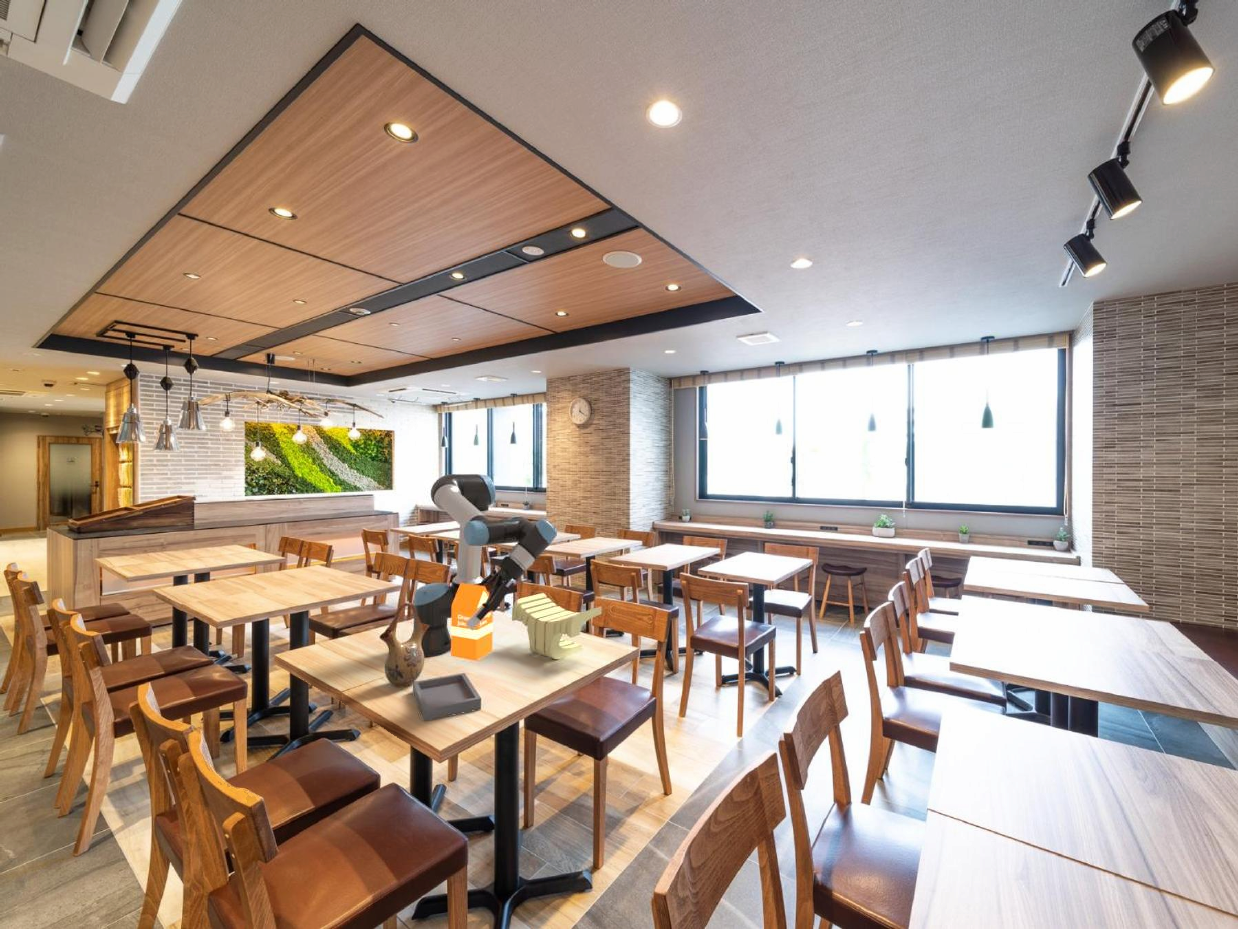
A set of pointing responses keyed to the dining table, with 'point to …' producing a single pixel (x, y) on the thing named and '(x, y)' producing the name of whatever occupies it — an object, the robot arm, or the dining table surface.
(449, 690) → the tray
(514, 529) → the robot arm
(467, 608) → the orange juice
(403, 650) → the ceramic vessel
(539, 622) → the slatted curved stool
